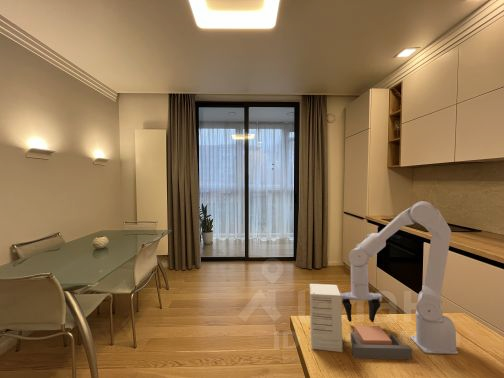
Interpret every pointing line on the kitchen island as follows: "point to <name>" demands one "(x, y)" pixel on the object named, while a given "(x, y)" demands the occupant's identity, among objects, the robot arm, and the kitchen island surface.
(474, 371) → the kitchen island surface
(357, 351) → the grey tray
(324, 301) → the supplement box
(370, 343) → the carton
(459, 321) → the kitchen island surface
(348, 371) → the kitchen island surface
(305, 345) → the kitchen island surface
